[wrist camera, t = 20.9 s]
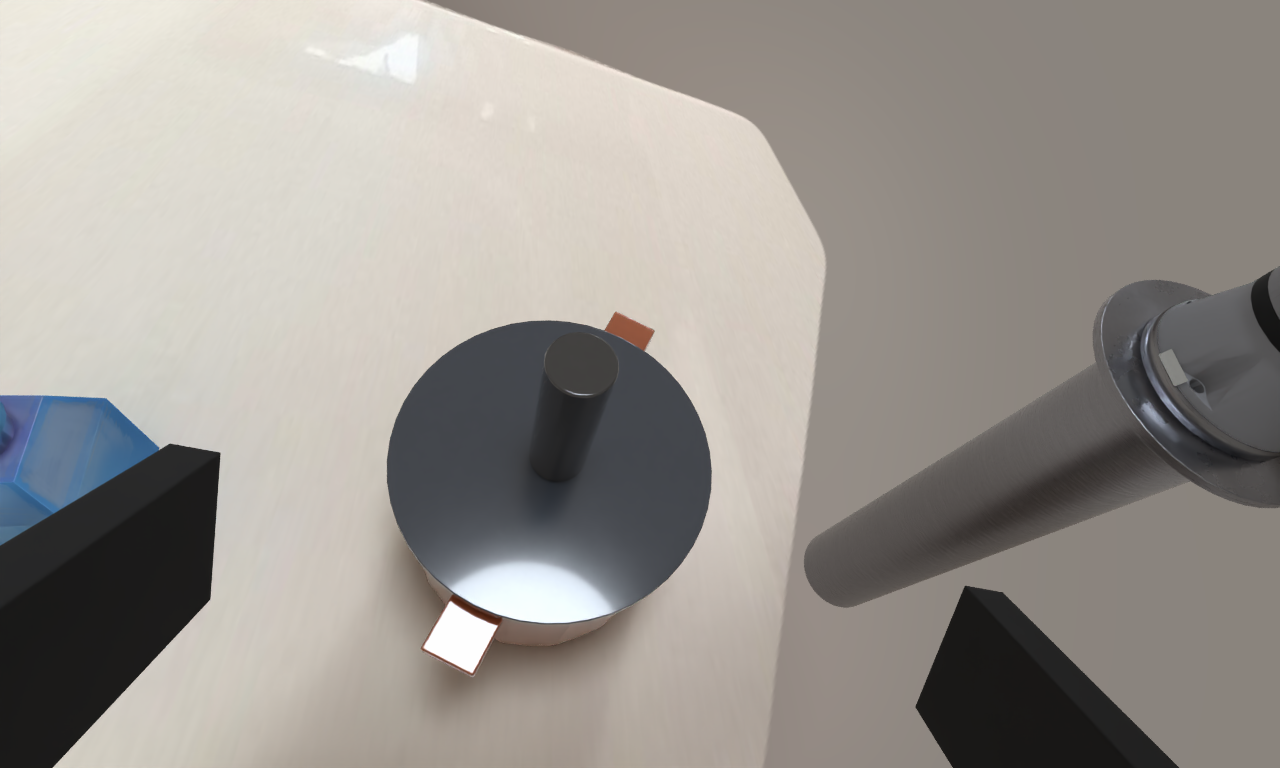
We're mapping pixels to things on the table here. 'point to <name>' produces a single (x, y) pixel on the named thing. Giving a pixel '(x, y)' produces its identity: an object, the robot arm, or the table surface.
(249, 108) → the table surface
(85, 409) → the perfume bottle
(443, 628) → the crock
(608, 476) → the lid
